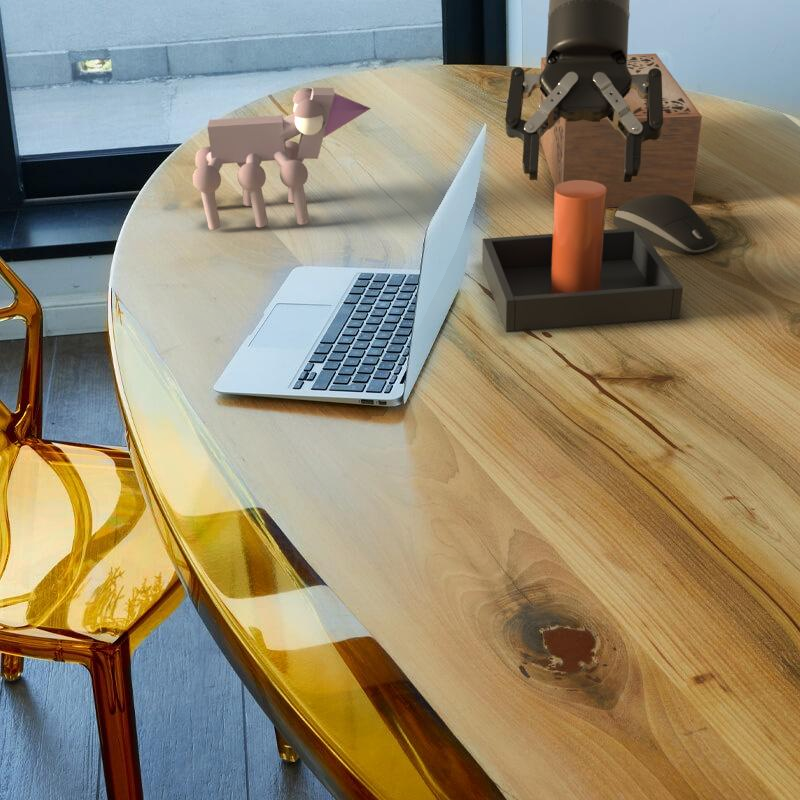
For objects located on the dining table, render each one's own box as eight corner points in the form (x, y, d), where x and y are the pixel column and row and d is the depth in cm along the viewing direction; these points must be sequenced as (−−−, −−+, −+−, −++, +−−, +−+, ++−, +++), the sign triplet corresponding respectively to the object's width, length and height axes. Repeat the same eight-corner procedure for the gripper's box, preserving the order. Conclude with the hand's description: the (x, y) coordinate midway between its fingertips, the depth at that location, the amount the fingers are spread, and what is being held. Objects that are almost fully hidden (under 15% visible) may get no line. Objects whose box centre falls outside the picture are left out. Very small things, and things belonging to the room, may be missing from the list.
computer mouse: (680, 267, 106) (684, 230, 104) (598, 228, 115) (600, 193, 113) (731, 250, 109) (736, 212, 107) (647, 213, 118) (650, 178, 116)
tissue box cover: (691, 204, 120) (701, 116, 114) (561, 209, 120) (565, 120, 115) (649, 131, 141) (655, 53, 136) (538, 134, 142) (541, 57, 137)
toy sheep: (373, 190, 127) (367, 74, 120) (379, 225, 118) (373, 102, 111) (202, 202, 126) (186, 85, 119) (196, 238, 117) (177, 114, 110)
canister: (593, 278, 103) (599, 178, 98) (605, 299, 99) (612, 196, 94) (546, 281, 103) (549, 181, 98) (556, 303, 99) (560, 200, 94)
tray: (637, 262, 108) (640, 227, 106) (678, 326, 96) (683, 287, 94) (482, 273, 107) (482, 238, 105) (505, 339, 95) (506, 300, 93)
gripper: (511, -5, 99) (500, 158, 96) (669, -6, 97) (664, 161, 94) (514, 40, 107) (504, 193, 103) (661, 40, 104) (656, 196, 101)
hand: (580, 177), depth 98 cm, fingers open, 8 cm apart
